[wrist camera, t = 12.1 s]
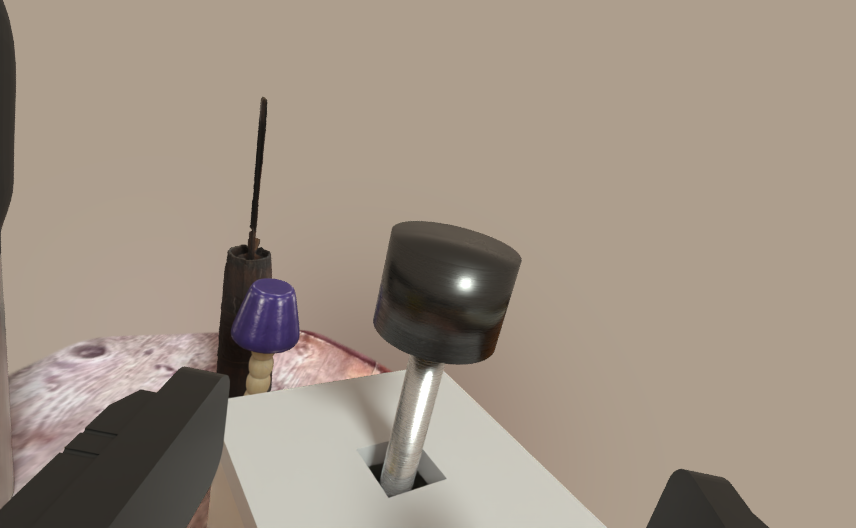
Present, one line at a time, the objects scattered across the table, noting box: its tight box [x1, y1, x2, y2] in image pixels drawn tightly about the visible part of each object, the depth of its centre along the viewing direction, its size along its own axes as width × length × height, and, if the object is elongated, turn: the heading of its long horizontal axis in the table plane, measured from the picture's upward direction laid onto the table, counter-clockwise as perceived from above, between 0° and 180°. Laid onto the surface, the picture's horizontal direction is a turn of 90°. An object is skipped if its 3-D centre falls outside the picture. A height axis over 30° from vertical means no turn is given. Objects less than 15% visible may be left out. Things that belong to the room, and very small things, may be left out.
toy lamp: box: [231, 278, 299, 396], centre depth 38 cm, size 5×5×17 cm
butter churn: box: [217, 97, 272, 398], centre depth 47 cm, size 9×10×28 cm
